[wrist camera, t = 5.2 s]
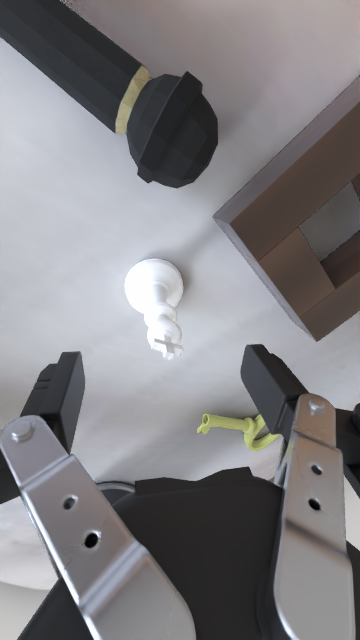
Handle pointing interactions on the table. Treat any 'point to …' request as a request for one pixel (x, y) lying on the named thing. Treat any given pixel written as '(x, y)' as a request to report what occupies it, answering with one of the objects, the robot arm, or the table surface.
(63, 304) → the table surface
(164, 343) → the chess piece
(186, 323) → the table surface
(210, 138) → the microphone
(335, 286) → the holder
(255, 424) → the key
